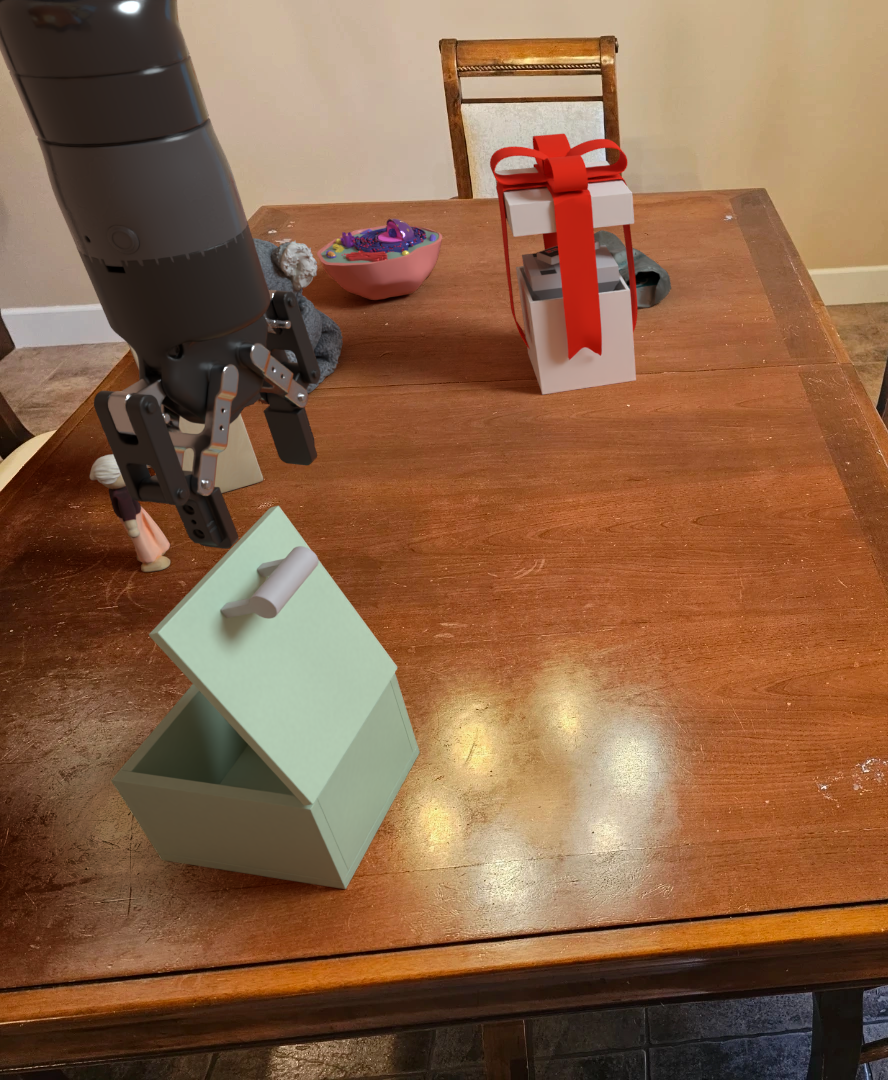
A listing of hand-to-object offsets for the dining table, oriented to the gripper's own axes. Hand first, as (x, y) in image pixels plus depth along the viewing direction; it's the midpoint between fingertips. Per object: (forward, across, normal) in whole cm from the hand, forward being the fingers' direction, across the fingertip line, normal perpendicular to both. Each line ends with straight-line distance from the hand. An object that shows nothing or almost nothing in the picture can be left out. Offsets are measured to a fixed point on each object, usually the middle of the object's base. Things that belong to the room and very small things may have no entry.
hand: (261, 500), depth 55 cm
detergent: (+30, -106, -8) cm, 111 cm away
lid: (+13, 0, -2) cm, 13 cm away
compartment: (+30, 0, -6) cm, 30 cm away
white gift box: (+30, -76, -6) cm, 82 cm away
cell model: (+30, -97, -45) cm, 111 cm away
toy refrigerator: (+30, -41, -40) cm, 65 cm away
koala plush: (+30, -68, -47) cm, 88 cm away
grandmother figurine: (+30, -26, -38) cm, 55 cm away
